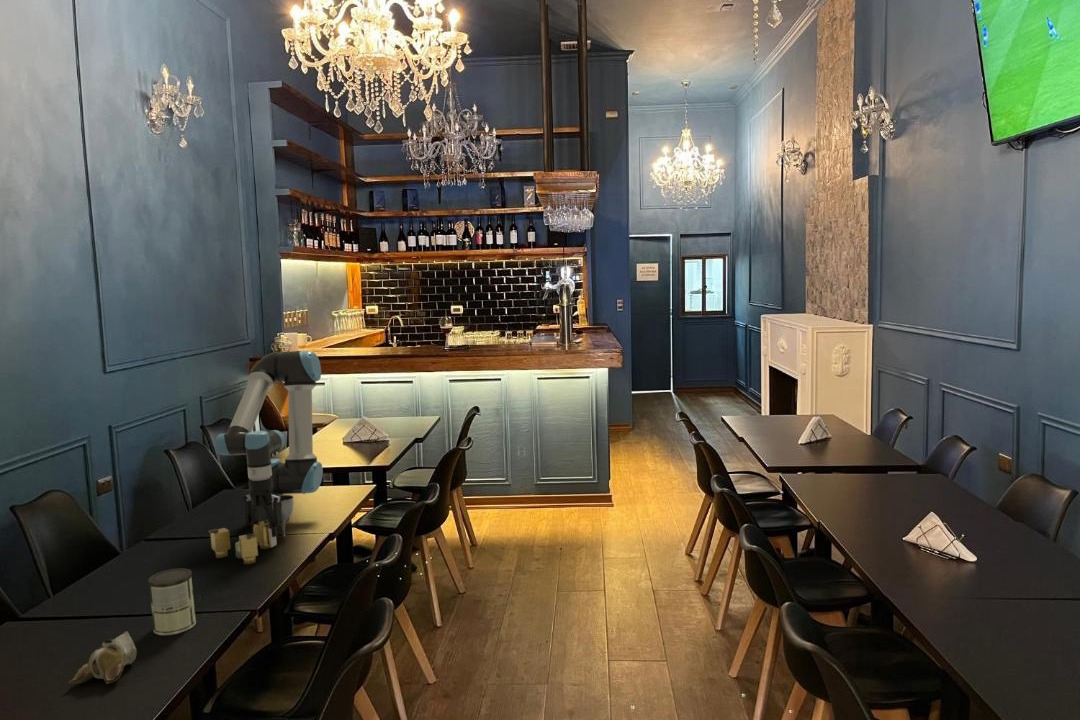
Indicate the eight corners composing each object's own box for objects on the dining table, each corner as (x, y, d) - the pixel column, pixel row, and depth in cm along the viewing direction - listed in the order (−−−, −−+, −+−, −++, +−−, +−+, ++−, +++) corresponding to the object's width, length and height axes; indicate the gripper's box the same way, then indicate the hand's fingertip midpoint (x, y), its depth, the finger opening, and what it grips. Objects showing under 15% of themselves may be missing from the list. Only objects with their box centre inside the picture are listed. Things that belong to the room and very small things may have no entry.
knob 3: (265, 550, 257) (263, 523, 256) (255, 548, 259) (253, 521, 258) (278, 545, 262) (276, 518, 261) (268, 543, 264) (266, 517, 263)
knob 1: (226, 552, 257) (224, 525, 256) (231, 556, 253) (228, 528, 252) (209, 556, 253) (207, 529, 253) (213, 560, 250) (211, 532, 249)
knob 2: (241, 561, 247) (238, 533, 247) (256, 558, 250) (253, 530, 249) (243, 566, 243) (241, 538, 242) (259, 563, 245) (256, 535, 244)
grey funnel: (300, 535, 276) (296, 494, 274) (290, 543, 268) (287, 501, 267) (278, 536, 277) (275, 495, 275) (268, 543, 269) (265, 501, 267)
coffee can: (146, 629, 203) (141, 577, 202) (184, 615, 211) (180, 565, 210) (164, 639, 197) (159, 586, 195) (203, 624, 205) (198, 573, 203)
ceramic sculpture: (146, 624, 185) (106, 658, 170) (151, 658, 186) (112, 694, 172) (105, 625, 186) (61, 658, 171) (110, 658, 187) (67, 694, 173)
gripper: (229, 479, 257) (235, 547, 259) (276, 481, 252) (282, 550, 254) (244, 474, 264) (249, 540, 266) (290, 475, 259) (295, 543, 261)
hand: (265, 545), depth 260 cm, fingers closed on knob 3, 5 cm apart
